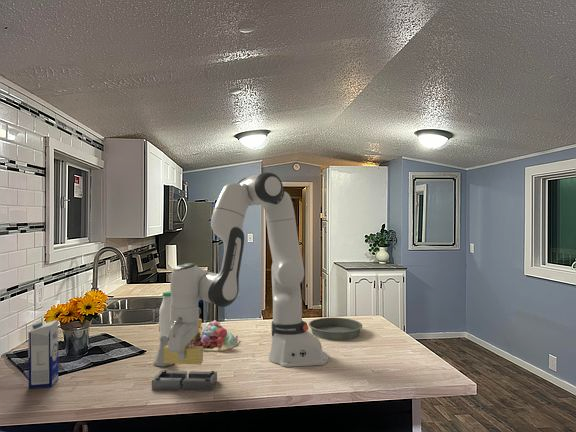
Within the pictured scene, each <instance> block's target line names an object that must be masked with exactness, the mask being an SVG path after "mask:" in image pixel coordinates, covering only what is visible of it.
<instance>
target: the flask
mask: <svg viewBox="0 0 576 432" xmlns="http://www.w3.org/2000/svg"><path fill="white" fill-rule="evenodd" d="M158 338H159V347H158V350H157V353H156V355H155V358H154V361H153V365H154V366H155V367H163V368H164V367H168V366H172V365H173V364H172V363H164V347H165V346H166V345H169V336H160V337H159V336H158Z"/></svg>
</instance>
